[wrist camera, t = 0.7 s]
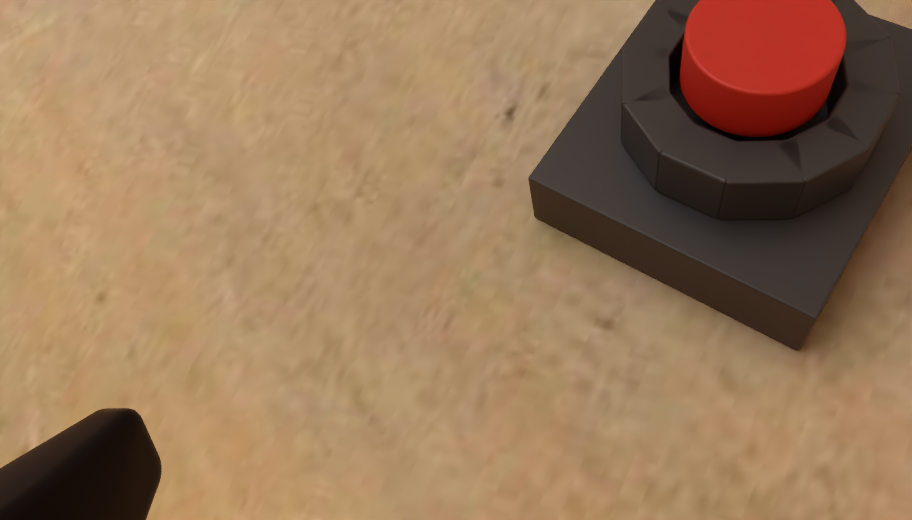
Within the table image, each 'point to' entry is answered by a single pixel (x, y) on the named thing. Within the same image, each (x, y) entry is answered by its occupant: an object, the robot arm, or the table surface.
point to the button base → (732, 175)
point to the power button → (760, 62)
